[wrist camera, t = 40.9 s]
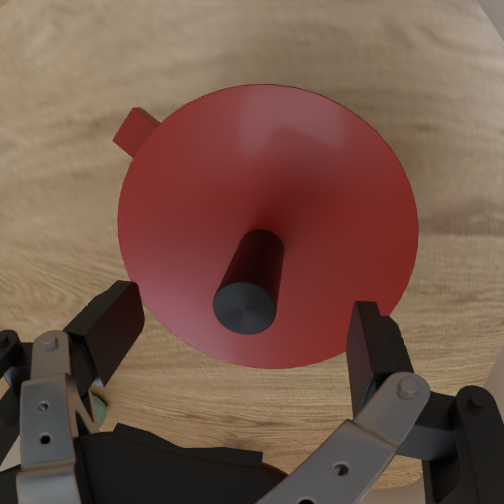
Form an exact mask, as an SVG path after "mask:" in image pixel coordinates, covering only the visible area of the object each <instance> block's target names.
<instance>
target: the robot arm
mask: <svg viewBox="0 0 504 504" xmlns="http://www.w3.org/2000/svg"><path fill="white" fill-rule="evenodd" d="M144 321H145V317H144V311H143V306H142V301H141V296H140V291H139V286H138V284H137V283H136V282H130V281H122V280H118V281H116V282H115V283H114V284H113V285H112V286H111V287H110V288H109V289H108V290H107V291H105V292H103V293H101V294H99V295H98V296H96V297H94V298H93V299H92V300H91V301H90V302H89V303H88V306H86V307H85V308H84V309H83V310H82V312H80V313H79V314H78V315H77V316H76V317H75V318H74V319H73V320H72V321H71V322H70V323H69V324H68V325H67V326H66V327H65V328H64V329H63V330H62V331H60V330H52V331H48V332H45V333H43V334H41V335H40V336H38V337H37V338H36V339H35V341H34V343H30V342H21V341H20V339H19V337H18V334H17V333H16V332H15V331H14V330H3V331H0V379H1V378H2V377H4V378H5V380H6V382H7V383H8V385H9V387H10V388H9V389H8V390H7V392H6V393H5V394H4V395H3V397H2V398H1V400H0V466H1V464H2V462H3V460H4V459H5V457H6V455H7V453H8V452H9V450H10V449H11V447H12V445H13V443H14V442H15V441H16V439H17V437H18V436H19V434H20V453H21V464H19V465H16V466H14V467H12V468H9V469H7V470H4V471H1V472H0V504H359V503H360V501H361V500H362V499H363V498H364V496H365V495H366V494H367V493H368V491H369V490H370V489H371V488H372V486H373V485H374V484H375V482H376V481H377V480H378V478H379V477H380V476H381V474H382V473H383V472H384V470H385V469H386V468H387V466H388V465H389V464H390V462H391V461H392V459H393V458H394V456H395V455H396V454H397V455H402V456H407V457H412V458H417V459H421V461H422V469H423V478H424V489H425V501H426V504H504V424H503V421H502V418H501V415H500V413H499V410H498V407H497V404H496V402H495V400H494V398H493V396H492V395H491V394H490V393H489V392H488V391H487V390H485V389H484V388H482V387H479V386H474V385H470V386H465V387H463V388H462V389H460V390H459V392H458V393H457V395H456V397H455V396H450V395H445V394H440V393H436V392H433V391H430V387H429V385H428V383H427V382H426V381H425V380H424V379H423V378H422V377H421V376H419V375H417V374H415V373H414V370H413V367H412V364H411V361H410V358H409V355H408V352H407V349H406V346H405V345H404V341H403V338H402V337H401V332H400V330H399V327H398V325H397V324H396V322H395V321H394V320H393V319H392V318H391V317H390V316H381V315H380V311H379V308H378V305H377V303H376V302H375V301H355V302H354V305H353V310H352V315H351V320H350V325H349V330H348V335H347V342H346V355H347V363H348V371H349V380H350V390H351V400H352V410H353V420H352V421H351V420H349V419H347V420H345V421H344V422H343V423H342V424H341V425H340V426H339V427H338V428H337V429H336V430H335V431H334V432H333V433H332V434H331V435H330V436H329V437H328V438H327V439H326V440H325V441H324V442H323V443H322V444H321V445H320V446H319V447H318V448H317V449H316V450H315V451H314V452H313V453H312V454H311V455H310V456H309V457H308V458H307V459H306V460H305V461H304V462H303V463H301V464H300V465H299V466H298V467H297V468H296V469H295V470H294V471H293V472H292V473H291V474H289V475H288V474H287V473H285V472H284V471H282V470H280V469H278V468H276V467H274V466H272V465H269V464H266V463H263V462H262V459H263V452H257V451H249V450H241V449H234V448H227V447H214V448H182V447H179V446H177V445H175V444H173V443H171V442H169V441H167V440H165V439H163V438H161V437H159V436H157V435H155V434H153V433H151V432H149V431H145V430H141V429H138V428H134V427H131V426H127V425H124V424H121V423H117V425H116V427H115V429H114V430H113V432H100V431H99V427H98V423H97V418H96V413H95V408H94V403H93V398H92V393H91V391H90V389H89V388H90V387H91V385H92V384H94V385H98V386H101V387H105V386H106V384H107V383H108V381H109V380H110V378H111V376H112V375H113V373H114V372H115V370H116V369H117V367H118V366H119V364H120V363H121V361H122V360H123V358H124V357H125V355H126V354H127V352H128V351H129V349H130V348H131V346H132V345H133V343H134V342H135V341H136V339H137V338H138V336H139V335H140V333H141V332H142V330H143V327H144Z"/></svg>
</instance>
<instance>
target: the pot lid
mask: <svg viewBox="0 0 504 504" xmlns="http://www.w3.org/2000/svg"><path fill="white" fill-rule="evenodd" d="M117 221H118V238H119V244H120V249H121V254H122V258H123V261H124V264H125V267H126V270H127V273H128V275H129V277H130V279H131V282H136V283H137V284H138V286H139V291H140V296H141V299H142V301H143V302H144V303H145V305H146V306H147V307H148V309H149V310H150V311H151V313H152V314H153V315H154V316H155V317H156V318H157V319H158V320H159V321H160V322H161V323H162V324H163V325H164V326H165V327H166V328H167V329H168V330H169V331H171V332H172V333H173V334H174V335H175V336H177V337H178V338H180V339H181V340H182V341H184V342H185V343H187V344H188V345H190V346H192V347H193V348H195V349H197V350H199V351H201V352H203V353H205V354H207V355H210V356H212V357H214V358H217V359H219V360H222V361H226V362H229V363H233V364H236V365H241V366H247V367H252V368H264V369H286V368H294V367H301V366H306V365H310V364H314V363H318V362H321V361H324V360H327V359H329V358H332V357H335V356H337V355H339V354H341V353H343V352H345V351H346V342H347V335H348V330H349V325H350V320H351V315H352V310H353V305H354V302H355V301H375V302H376V303H377V305H378V308H379V311H380V315H381V316H389V315H390V314H391V312H392V311H393V309H394V308H395V306H396V305H397V303H398V302H399V300H400V299H401V297H402V295H403V293H404V291H405V289H406V287H407V285H408V282H409V279H410V277H411V274H412V271H413V268H414V264H415V258H416V253H417V248H418V218H417V209H416V204H415V200H414V196H413V192H412V189H411V186H410V183H409V181H408V179H407V176H406V174H405V172H404V169H403V167H402V166H401V164H400V162H399V161H398V159H397V157H396V156H395V154H394V152H393V151H392V149H391V148H390V147H389V146H388V144H387V143H386V142H385V141H384V140H383V138H382V137H381V136H380V135H379V134H378V133H377V131H376V130H374V129H373V128H372V127H371V126H370V125H369V124H368V123H367V122H365V121H364V120H363V119H362V118H361V117H360V116H358V115H357V114H355V113H354V112H352V111H351V110H349V109H347V108H346V107H344V106H343V105H341V104H340V103H337V102H335V101H333V100H331V99H329V98H326V97H324V96H322V95H320V94H317V93H314V92H310V91H307V90H303V89H300V88H296V87H290V86H283V85H274V84H253V85H242V86H236V87H231V88H225V89H222V90H219V91H216V92H213V93H210V94H207V95H204V96H202V97H200V98H198V99H196V100H194V101H192V102H190V103H188V104H186V105H184V106H183V107H181V108H180V109H178V110H177V111H175V112H174V113H173V114H171V115H170V116H169V117H167V118H166V119H165V120H164V121H163V122H162V123H161V124H160V125H159V126H158V127H157V128H156V129H155V130H153V131H152V132H151V134H150V135H149V136H148V138H147V139H146V140H145V141H144V143H143V144H142V145H141V147H140V148H139V150H138V152H137V153H136V155H135V157H134V159H133V161H132V162H131V164H130V166H129V169H128V171H127V174H126V177H125V179H124V182H123V186H122V190H121V194H120V199H119V206H118V218H117Z"/></svg>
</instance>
